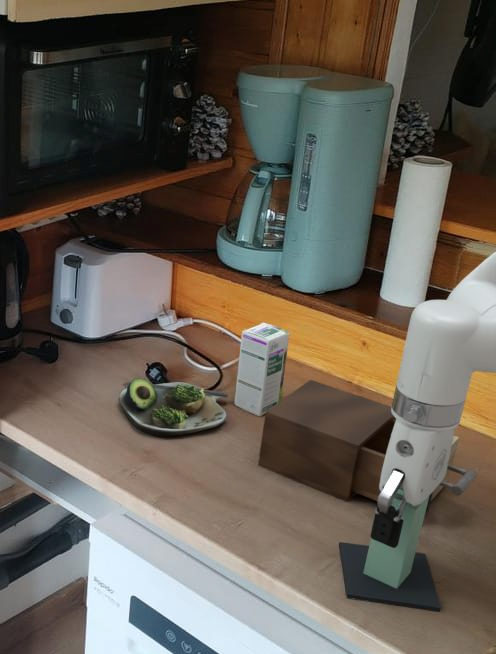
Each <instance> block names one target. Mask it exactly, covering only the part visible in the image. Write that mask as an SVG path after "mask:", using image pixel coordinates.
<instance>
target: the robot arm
mask: <svg viewBox="0 0 496 654" xmlns="http://www.w3.org/2000/svg"><path fill="white" fill-rule="evenodd" d="M475 372H482V373H490V374H496V251H495V252H493V253H492V254H490V255H489V256H488V257H487V258H485V259H484V260H483V261H482V262H480V264H479V265H477V266H476V267H475V268H474V269H473V270H471V272H470V273H468V274H467V275H466V276H465V277H464V278H463V279H462V280H461V281H460V282H459V283H458V284H457V285H456V286H455V287H454V289H452V291H451V292H450V293H449V294H448V296H447V298H446V299H429V300H426V301H425V300H424V301H422V302H421V303H419V304H417V305H416V306H415V308H414V309H413V310H412V313H411V316H410V318H409V323H408V328H407V333H406V337H405V342H404V347H403V352H402V356H401V361H400V365H399V370H398V375H397V379H396V385H395V389H394V394H393V397H392V402H391V403H392V404H391V412H392V414H393V416H394V417H395V418H396V421H395V425H394V428H393V431H392V433H391V438H390V441H389V445H388V448H387V452H386V456H385V460H384V464H383V468H382V472H381V478H380V484H379V489H380V491H381V493H380V495H379V497H378V501H377V503H376V505H375V506H376V507H375V511H374V517H373V523H372V525H371V526H372V527H371V531H370V539H371V538H372V539H373V540H376V541H378V542H380V543H383V544H385V545H387V546H390V547H392V548H396V547H397V546H398V543H399V538H400V534H401V530H402V526H403V521H404V520H402V519H401V517H402V515H403V513H404V510H405V508H406V506H407V504H408V503H410V504H412V505H413V506H417V505H419V504H421V503H422V502H423V501H424V500H425V499H426V498H427V497H428V496H429V495H430V496H429V500H428V504H427V508H426V512H425V515H427V513H428V512H429V510H430V505H431V502H432V500H431V497H432V493H433V491H434V490H435V489H436V487H437V486H438V485H439V484H440V483H441V482H442V480H443V479H444V477H445V475H446V471H447V467H448V462H449V457H450V452H451V446H452V441H453V436H455V429H457V428H458V427H459V426H460V423H461V419H462V415H463V412H464V411H463V410H464V407H465V404H466V400H467V395H468V392H469V387H470V384H471V380H472V376H473V373H475ZM399 489H400V490H402V491H404V495H405V496H403V495H400V494H397V491H398V490H399ZM393 498H394V499H396V500H399V501H401V502H400V504H399V507H398V509H397V511H396V509H395V507H394V506H392V504H393Z"/></svg>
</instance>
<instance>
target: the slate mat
mask: <svg viewBox="0 0 496 654" xmlns="http://www.w3.org/2000/svg"><path fill="white" fill-rule="evenodd" d="M338 548H339V555H340V563H341V569H342V576H343V583H344V588H345V595H347V596H346V598H347V599H351V598H355V599H354V600H358V599H359V601H365V600H368V601H367V602H371V603H372V602H373V603H379V602H381V603H380V604H385V605H386V604H388V605H392V604H393V606H399V607H400V606H401V607H406V606H408V607H407V608H413V607H414V609H422V610H427V611H435V612H441V610H442V606H441V602H440V599H439V595H438V592H437V589H436V585H435V582H434V578H433V574H432V572H431V568H430V564H429V560H428V557H427V553H424V552H417V551H416V552H415V556H414V560H413V564H412V568H411V572H410V574H409V575H408V576H407V577H406V578H405V580H404V581H403V582H402V583H401V584H400V586H399V587H398V588H397V589H396V588H394V587H392V586H390V585H388V584H385V583H383V582H381V581H379V580H377V579H374V578H372V577H370V576H368V575H366V574H364V568H365V563H366V559H367V554H368V550H369V545H366V544H359V543H351V542H344V541H339V542H338Z"/></svg>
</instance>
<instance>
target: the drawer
mask: <svg viewBox="0 0 496 654" xmlns="http://www.w3.org/2000/svg"><path fill="white" fill-rule="evenodd" d="M395 421H396V419H394V418H393V419H392V420H391V421H390V422H389V423H388V424H387V425H386V426H384V427H383V428H382V429H381V430H380V431H379V432H378V433H377V434H375V435H374V436H373V437H372V438H371V439H370V440H369V441H367V442H366V443H365V444H364V445H363V446H362V447H361V448H360V451H359V456H358V461H357V466H356V471H355V476H354V480H353V485H352V490H351V491H353V492H356V494H358V495H360V496H363V497H366V498H368V499H371V500H373V501H376V502H378V497H379V495H380V493H381V491H380V489H379V484H380V478H381V472H382V468H383V464H384V460H385V456H386V452H387V448H388V445H389V441H390V438H391V433H392V431H393V428H394V425H395ZM459 441H460V437H459V436H457V435H454V436H453V441H452V446H451V452H450V457H449V462H448V467H447V471H446V475H445V477H444V479H443V480H442V482H441V483H440V484H439V485H438V486H437V487H436V489H435V490H434V491H433V493H432V497H431V501H432V500H433V499H435V497H436V496H437V495H438V494H439V492H440V491H441V490H442V489H443V488H446V489H448V490H451V493H452V494H453V495H455V496H461V495H462V494H463V493H464V492H465V490H467V489H468V487H469V486H470V485H471V484H472V482H474V480H475V479H476V478H477V476H478V472H477V471H476V470H475V469H472V468H470V469H467V470H466V469H465V468H461V467H458V466H455V465H453V464H454V460H455V456H456V454H457V453H456V452H457V448H458V444H459ZM451 472H454V473H456V474H459V475H462V476H461V477H460V478H459V479H458V480H457V482H456V483H454V484H453V483H450V482H449V480H450V475H451Z"/></svg>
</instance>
